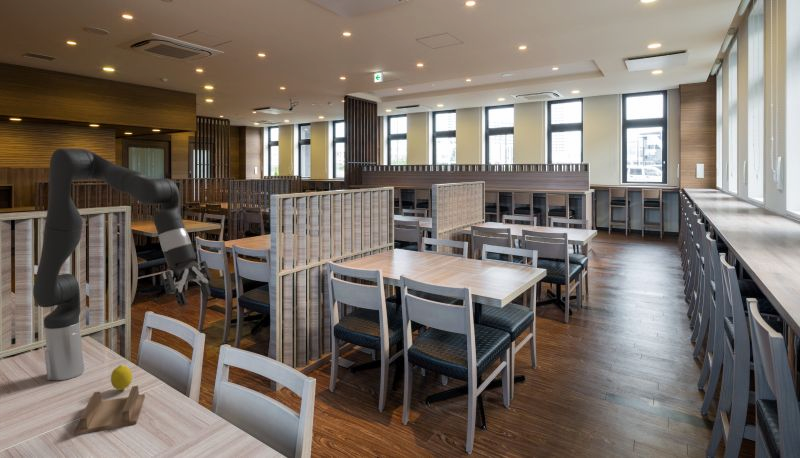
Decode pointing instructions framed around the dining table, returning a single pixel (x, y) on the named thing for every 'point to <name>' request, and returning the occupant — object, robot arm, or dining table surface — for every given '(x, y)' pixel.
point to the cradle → (110, 412)
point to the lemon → (121, 377)
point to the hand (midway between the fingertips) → (195, 301)
